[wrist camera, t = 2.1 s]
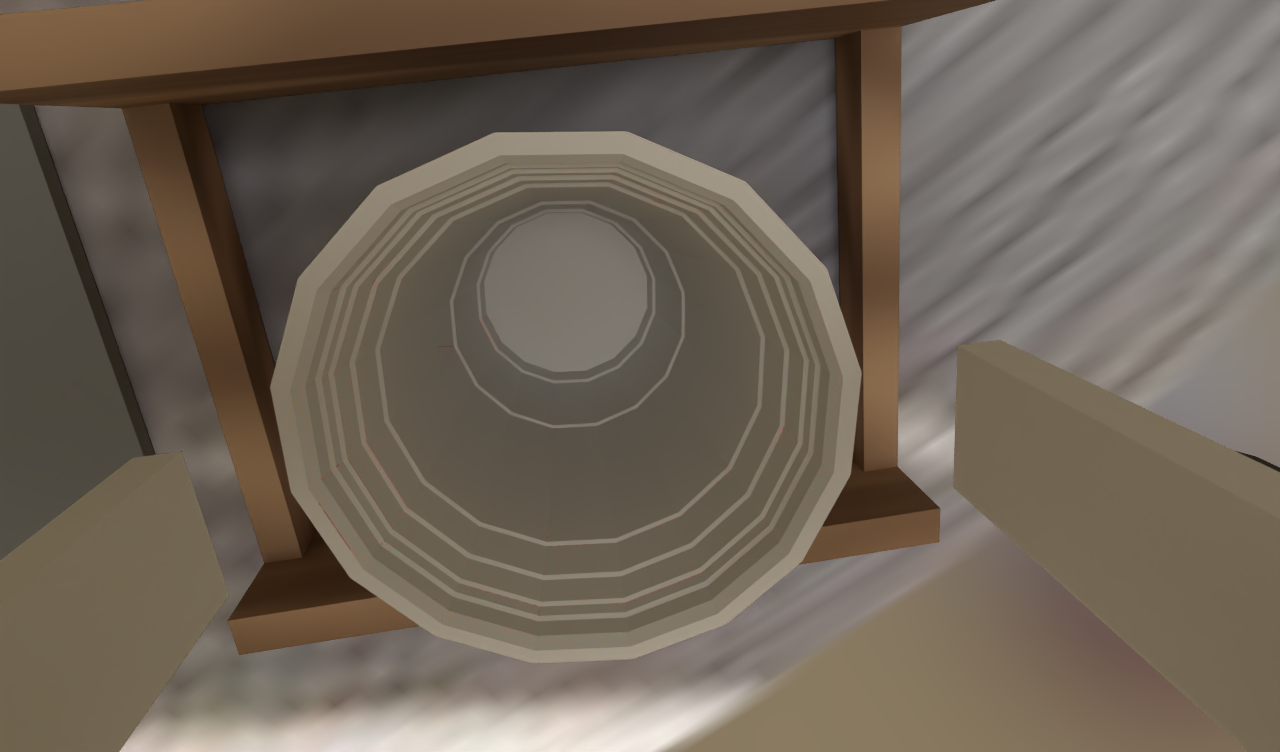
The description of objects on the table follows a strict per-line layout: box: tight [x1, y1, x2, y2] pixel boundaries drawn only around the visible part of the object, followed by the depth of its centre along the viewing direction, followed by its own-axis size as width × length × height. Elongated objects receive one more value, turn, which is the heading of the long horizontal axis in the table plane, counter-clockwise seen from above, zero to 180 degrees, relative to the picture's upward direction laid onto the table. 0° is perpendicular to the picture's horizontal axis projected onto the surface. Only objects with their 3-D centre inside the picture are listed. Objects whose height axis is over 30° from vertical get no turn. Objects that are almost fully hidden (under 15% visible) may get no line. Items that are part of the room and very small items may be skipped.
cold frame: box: [0, 0, 995, 655], centre depth 21 cm, size 16×21×9 cm
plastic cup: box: [270, 131, 862, 663], centre depth 19 cm, size 11×11×12 cm
